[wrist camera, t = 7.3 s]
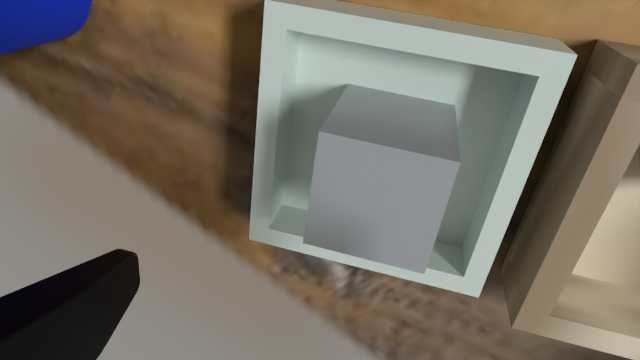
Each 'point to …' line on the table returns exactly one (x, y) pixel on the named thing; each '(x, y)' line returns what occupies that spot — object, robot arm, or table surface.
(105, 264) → the robot arm
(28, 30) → the beverage can
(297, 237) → the tub
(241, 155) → the table surface
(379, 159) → the stone block
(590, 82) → the crate
